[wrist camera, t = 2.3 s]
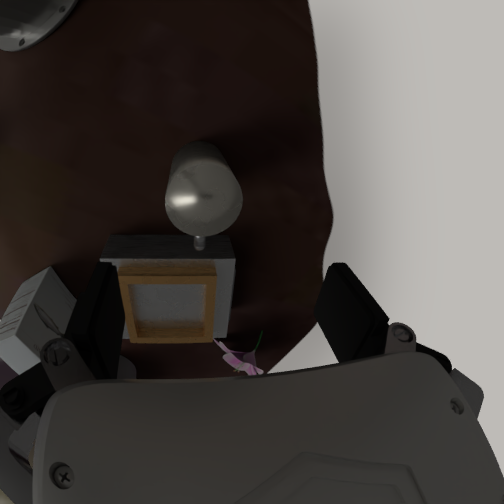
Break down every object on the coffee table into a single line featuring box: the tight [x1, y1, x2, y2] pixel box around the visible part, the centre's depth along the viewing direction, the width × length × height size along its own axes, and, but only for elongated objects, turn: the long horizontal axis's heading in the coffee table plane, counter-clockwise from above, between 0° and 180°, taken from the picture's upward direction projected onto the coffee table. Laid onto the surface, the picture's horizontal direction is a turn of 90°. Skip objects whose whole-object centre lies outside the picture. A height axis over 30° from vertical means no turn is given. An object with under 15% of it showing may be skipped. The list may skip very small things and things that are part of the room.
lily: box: [213, 330, 263, 375], centre depth 40 cm, size 12×12×10 cm
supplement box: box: [0, 266, 77, 375], centre depth 26 cm, size 7×7×13 cm
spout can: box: [165, 141, 243, 251], centre depth 24 cm, size 8×6×10 cm
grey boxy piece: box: [100, 235, 236, 343], centre depth 31 cm, size 12×14×6 cm
